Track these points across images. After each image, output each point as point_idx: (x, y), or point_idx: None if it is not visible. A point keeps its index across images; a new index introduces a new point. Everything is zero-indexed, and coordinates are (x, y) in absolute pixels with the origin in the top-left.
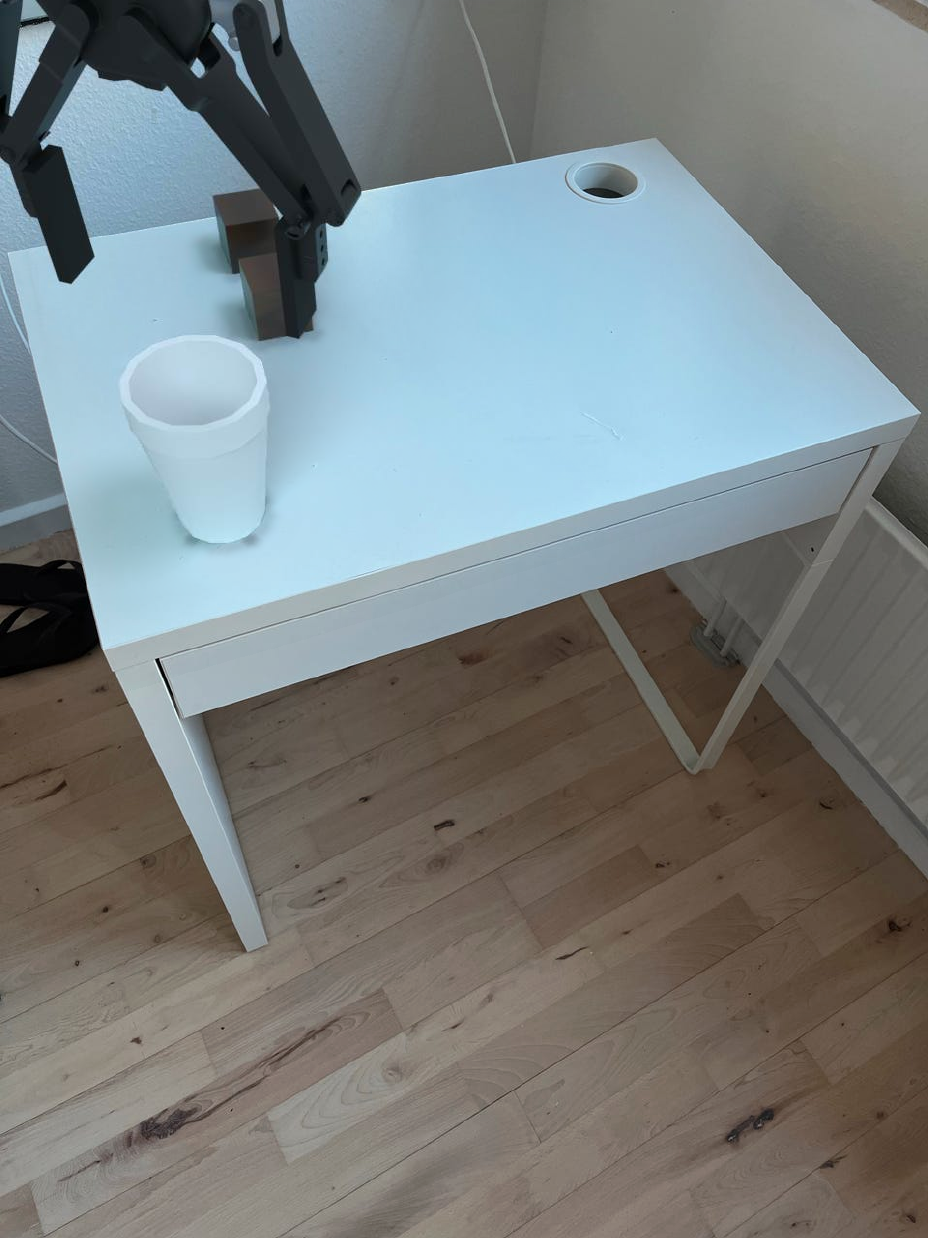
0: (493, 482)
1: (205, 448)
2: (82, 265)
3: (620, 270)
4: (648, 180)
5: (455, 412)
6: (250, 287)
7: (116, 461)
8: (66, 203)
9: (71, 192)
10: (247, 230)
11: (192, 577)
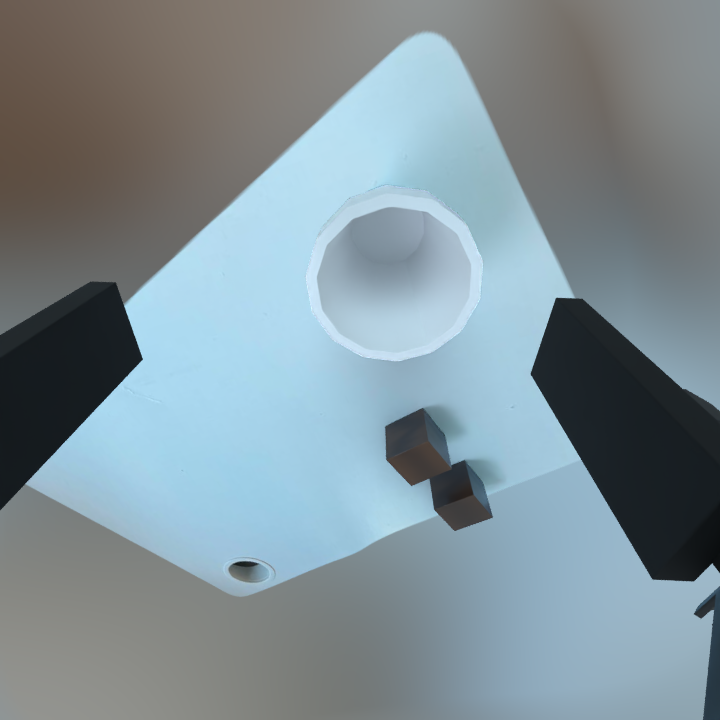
0: (186, 323)
1: (349, 200)
2: (545, 345)
3: (204, 515)
4: (224, 576)
5: (248, 380)
6: (431, 445)
7: (503, 256)
8: (601, 437)
9: (596, 466)
10: (456, 494)
11: (386, 135)
